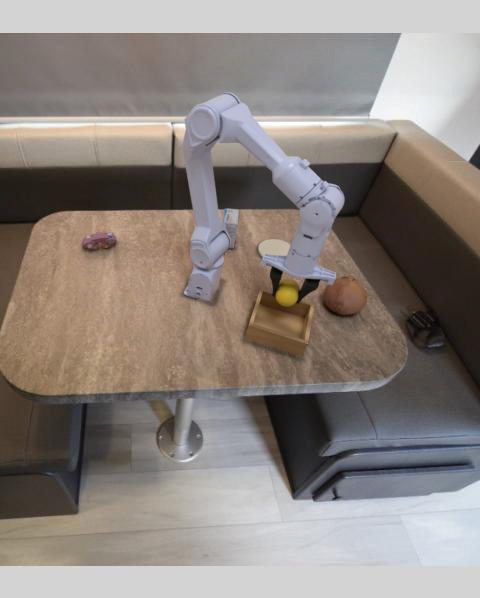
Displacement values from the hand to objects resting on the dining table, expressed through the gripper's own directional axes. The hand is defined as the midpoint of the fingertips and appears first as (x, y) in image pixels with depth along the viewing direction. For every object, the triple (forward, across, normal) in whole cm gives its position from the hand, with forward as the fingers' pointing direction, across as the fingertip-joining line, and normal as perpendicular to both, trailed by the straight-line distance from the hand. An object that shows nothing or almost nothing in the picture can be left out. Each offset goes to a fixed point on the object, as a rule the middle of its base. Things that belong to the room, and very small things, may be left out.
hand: (286, 297), depth 78 cm
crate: (+8, 0, +2) cm, 9 cm away
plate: (+8, +5, -27) cm, 29 cm away
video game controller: (+9, +53, -7) cm, 54 cm away
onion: (+8, -13, -11) cm, 19 cm away
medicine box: (+8, +20, -26) cm, 34 cm away
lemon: (+1, 0, 0) cm, 1 cm away
